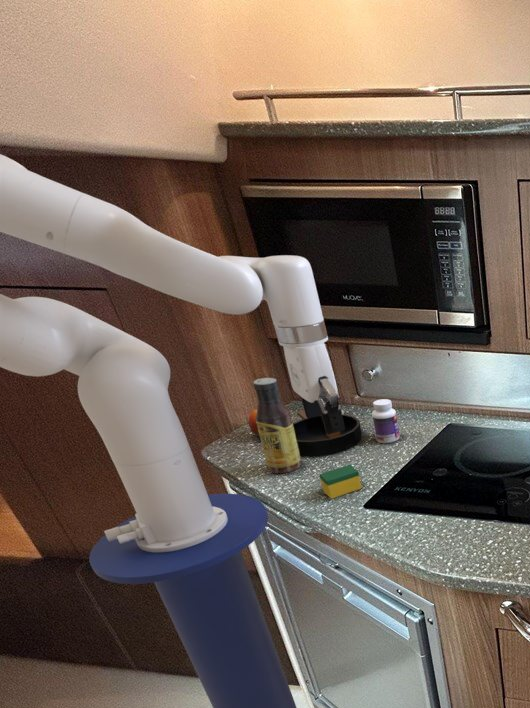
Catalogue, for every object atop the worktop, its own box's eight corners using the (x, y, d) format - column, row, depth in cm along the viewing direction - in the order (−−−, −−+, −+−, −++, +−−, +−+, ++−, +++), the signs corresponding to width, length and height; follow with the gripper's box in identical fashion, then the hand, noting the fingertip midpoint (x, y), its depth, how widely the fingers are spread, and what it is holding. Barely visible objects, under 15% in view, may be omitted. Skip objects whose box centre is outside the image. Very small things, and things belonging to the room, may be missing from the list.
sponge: (331, 499, 97) (326, 481, 96) (323, 491, 100) (318, 474, 98) (361, 488, 101) (358, 471, 100) (353, 481, 104) (350, 464, 102)
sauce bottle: (262, 471, 106) (235, 382, 97) (287, 459, 111) (264, 373, 102) (285, 477, 104) (260, 387, 95) (310, 464, 109) (288, 378, 100)
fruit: (235, 433, 118) (246, 401, 118) (269, 439, 125) (279, 409, 125) (254, 442, 115) (264, 409, 115) (288, 447, 122) (298, 416, 122)
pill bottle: (402, 440, 121) (396, 403, 117) (379, 445, 119) (372, 407, 114) (396, 432, 125) (391, 396, 121) (374, 437, 123) (367, 400, 118)
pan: (301, 463, 110) (297, 448, 108) (269, 432, 123) (265, 418, 121) (373, 442, 120) (370, 428, 118) (336, 415, 133) (334, 402, 132)
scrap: (330, 439, 119) (328, 429, 118) (326, 435, 121) (324, 426, 119) (341, 436, 121) (339, 427, 120) (337, 433, 122) (335, 424, 121)
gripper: (262, 327, 88) (288, 416, 96) (295, 347, 78) (322, 445, 86) (307, 321, 93) (328, 405, 101) (344, 338, 83) (365, 432, 90)
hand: (325, 423), depth 93 cm, fingers open, 9 cm apart
